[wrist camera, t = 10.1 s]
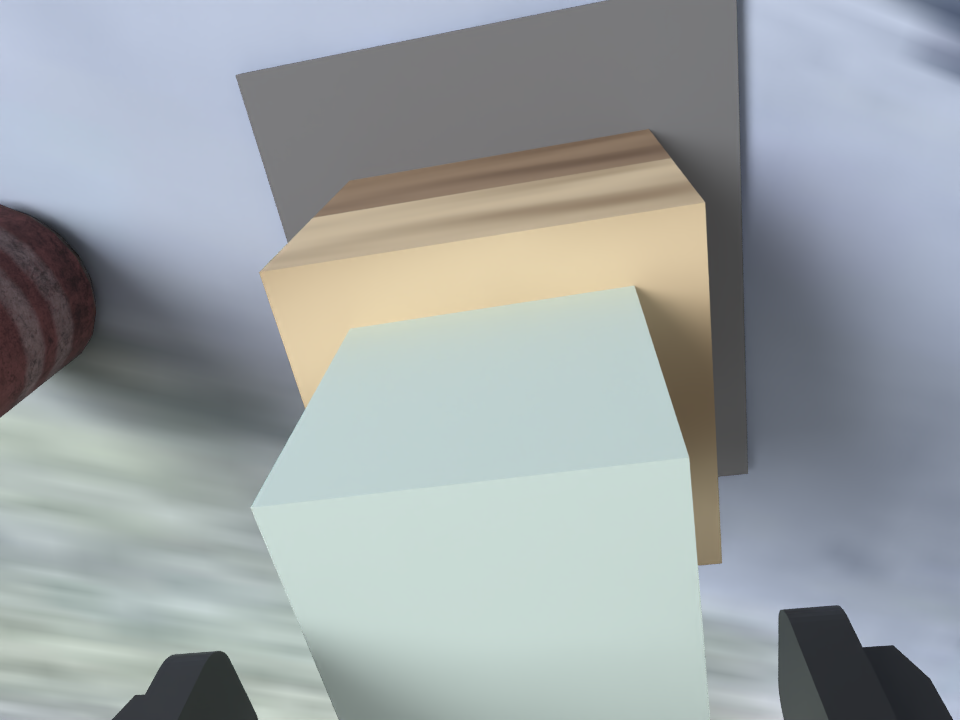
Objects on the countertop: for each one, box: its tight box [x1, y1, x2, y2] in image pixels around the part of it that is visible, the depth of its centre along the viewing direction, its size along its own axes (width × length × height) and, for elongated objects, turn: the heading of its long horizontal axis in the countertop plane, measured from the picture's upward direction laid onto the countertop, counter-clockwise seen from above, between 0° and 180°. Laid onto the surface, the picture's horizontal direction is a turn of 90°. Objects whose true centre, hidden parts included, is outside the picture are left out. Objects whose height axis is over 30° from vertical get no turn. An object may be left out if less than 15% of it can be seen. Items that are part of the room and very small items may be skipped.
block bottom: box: [313, 129, 671, 218], centre depth 22 cm, size 9×9×4 cm
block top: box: [259, 158, 722, 565], centre depth 18 cm, size 9×9×4 cm
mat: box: [236, 0, 748, 477], centre depth 24 cm, size 16×14×1 cm
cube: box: [251, 286, 710, 720], centre depth 14 cm, size 6×6×6 cm
